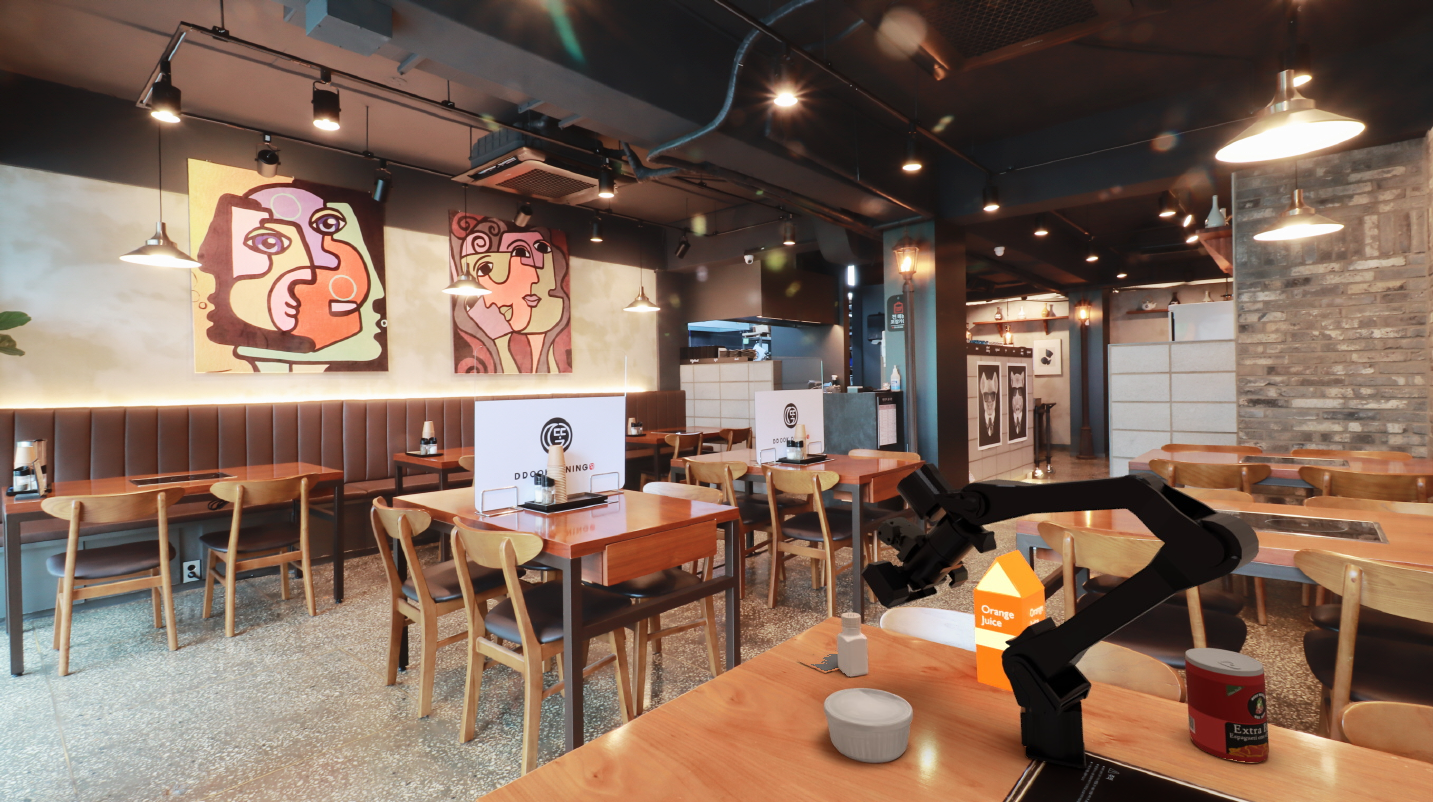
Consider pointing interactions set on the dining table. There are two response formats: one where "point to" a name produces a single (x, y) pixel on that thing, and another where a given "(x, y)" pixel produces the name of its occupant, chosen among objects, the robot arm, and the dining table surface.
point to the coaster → (828, 663)
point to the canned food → (1227, 704)
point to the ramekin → (868, 724)
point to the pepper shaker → (852, 646)
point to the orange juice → (1004, 613)
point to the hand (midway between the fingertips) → (886, 605)
